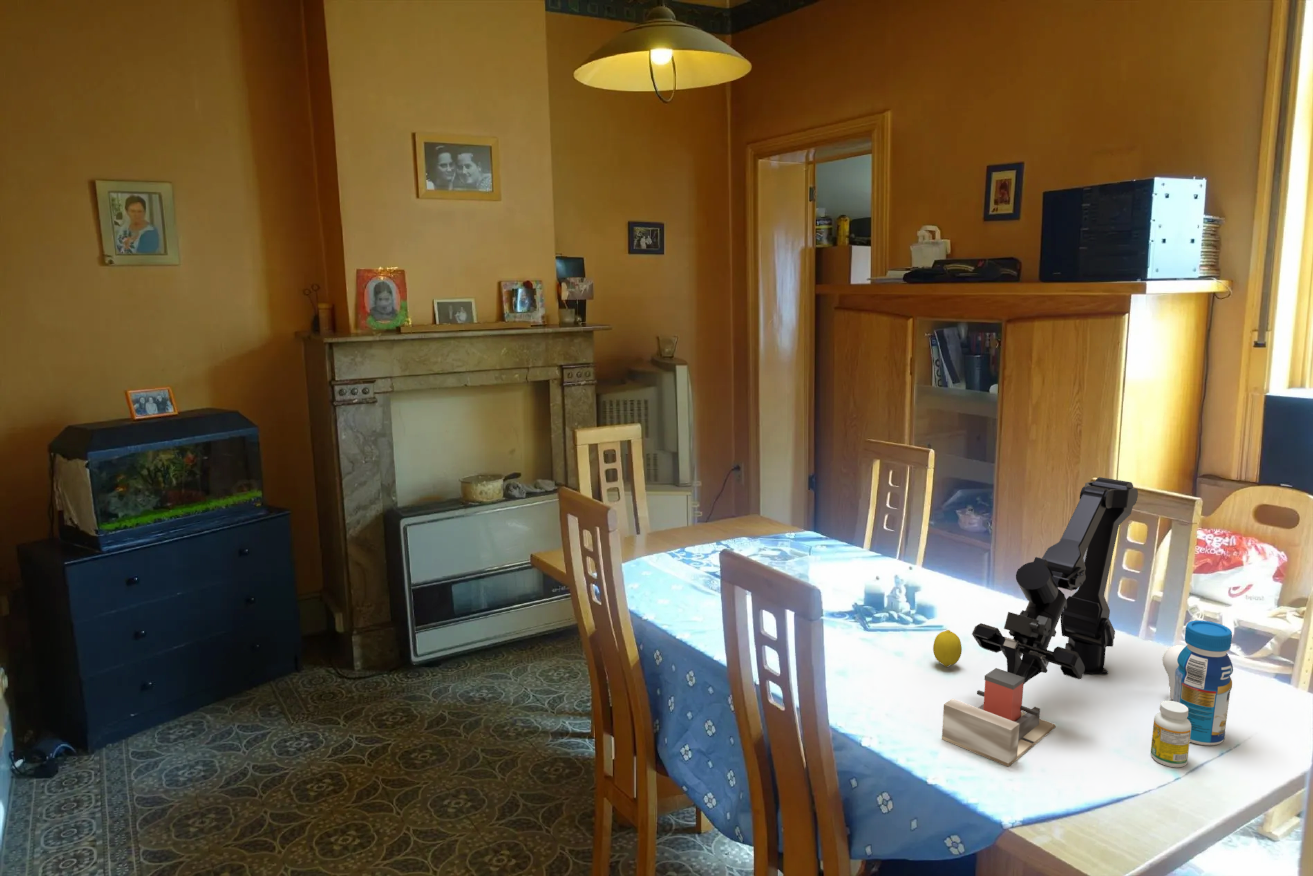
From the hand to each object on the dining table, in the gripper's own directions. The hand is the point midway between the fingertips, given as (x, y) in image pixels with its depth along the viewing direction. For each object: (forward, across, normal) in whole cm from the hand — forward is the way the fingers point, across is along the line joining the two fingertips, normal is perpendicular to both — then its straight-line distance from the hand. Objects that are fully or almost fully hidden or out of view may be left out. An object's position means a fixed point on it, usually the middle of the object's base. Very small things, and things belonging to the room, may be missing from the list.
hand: (1009, 692), depth 155 cm
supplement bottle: (-2, +23, +12) cm, 26 cm away
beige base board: (+7, 0, +3) cm, 7 cm away
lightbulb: (-18, +18, +28) cm, 37 cm away
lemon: (-5, -20, +15) cm, 25 cm away
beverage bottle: (-10, +24, +20) cm, 33 cm away
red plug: (+6, 0, +3) cm, 7 cm away
